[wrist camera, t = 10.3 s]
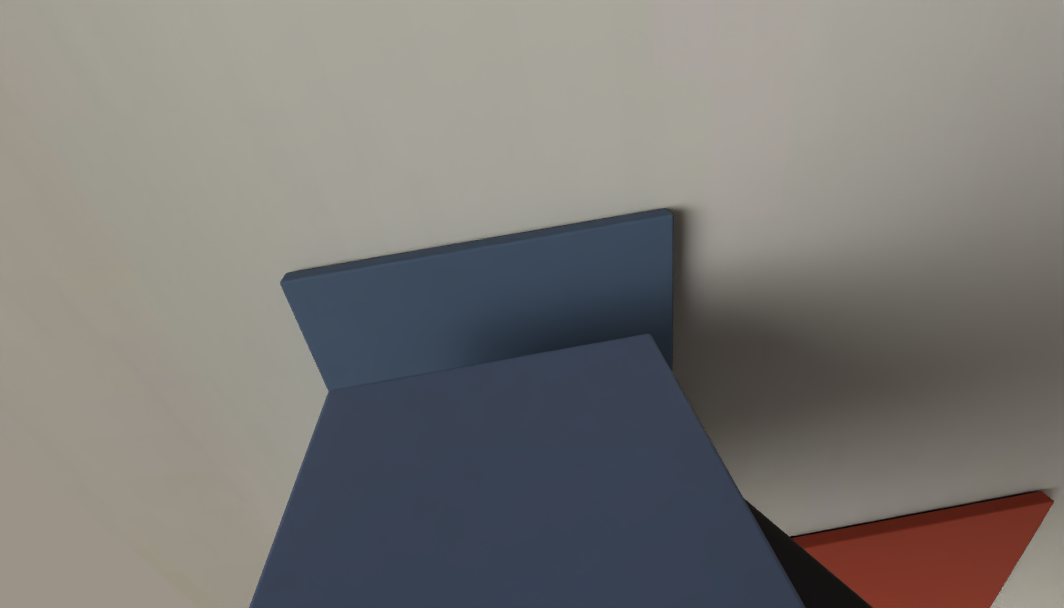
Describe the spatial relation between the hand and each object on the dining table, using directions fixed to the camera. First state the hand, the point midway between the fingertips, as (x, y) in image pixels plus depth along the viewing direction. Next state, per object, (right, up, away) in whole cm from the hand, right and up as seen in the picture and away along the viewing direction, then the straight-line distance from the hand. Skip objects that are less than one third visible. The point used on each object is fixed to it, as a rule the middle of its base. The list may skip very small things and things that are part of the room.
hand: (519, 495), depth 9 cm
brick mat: (+11, -7, +9) cm, 16 cm away
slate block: (0, 0, 0) cm, 0 cm away
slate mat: (0, +1, +2) cm, 3 cm away
